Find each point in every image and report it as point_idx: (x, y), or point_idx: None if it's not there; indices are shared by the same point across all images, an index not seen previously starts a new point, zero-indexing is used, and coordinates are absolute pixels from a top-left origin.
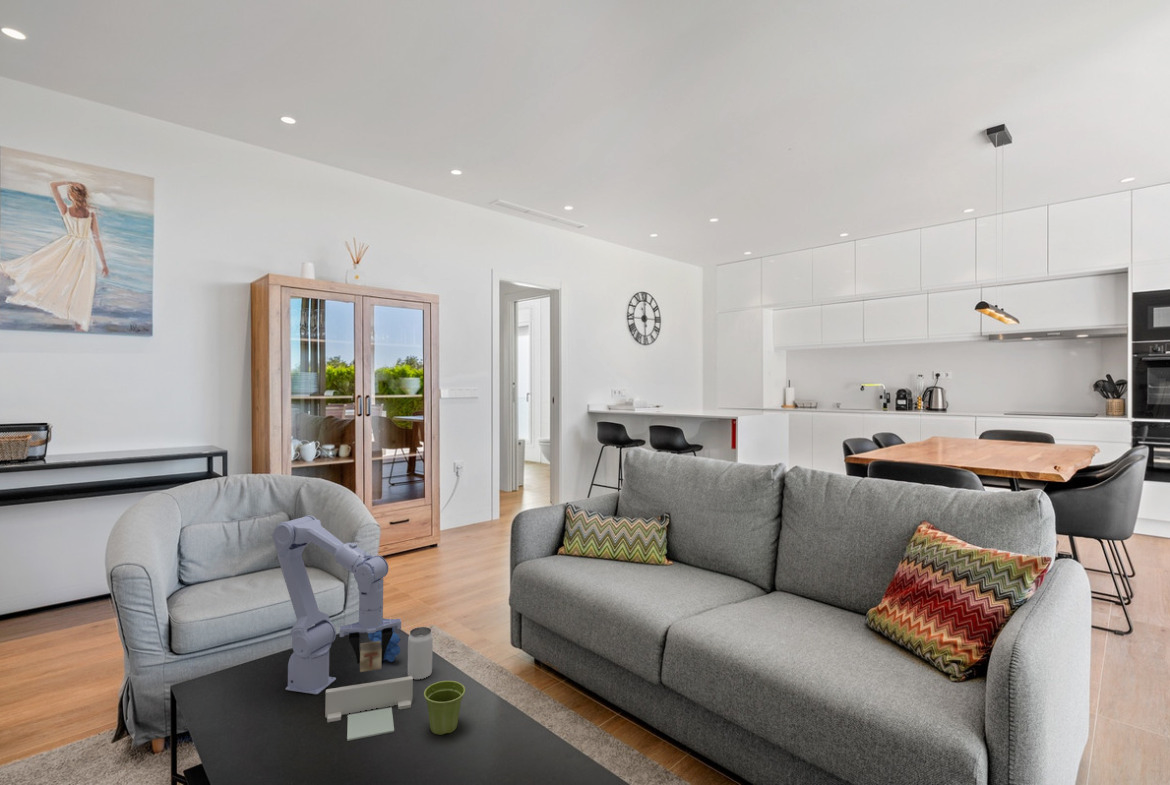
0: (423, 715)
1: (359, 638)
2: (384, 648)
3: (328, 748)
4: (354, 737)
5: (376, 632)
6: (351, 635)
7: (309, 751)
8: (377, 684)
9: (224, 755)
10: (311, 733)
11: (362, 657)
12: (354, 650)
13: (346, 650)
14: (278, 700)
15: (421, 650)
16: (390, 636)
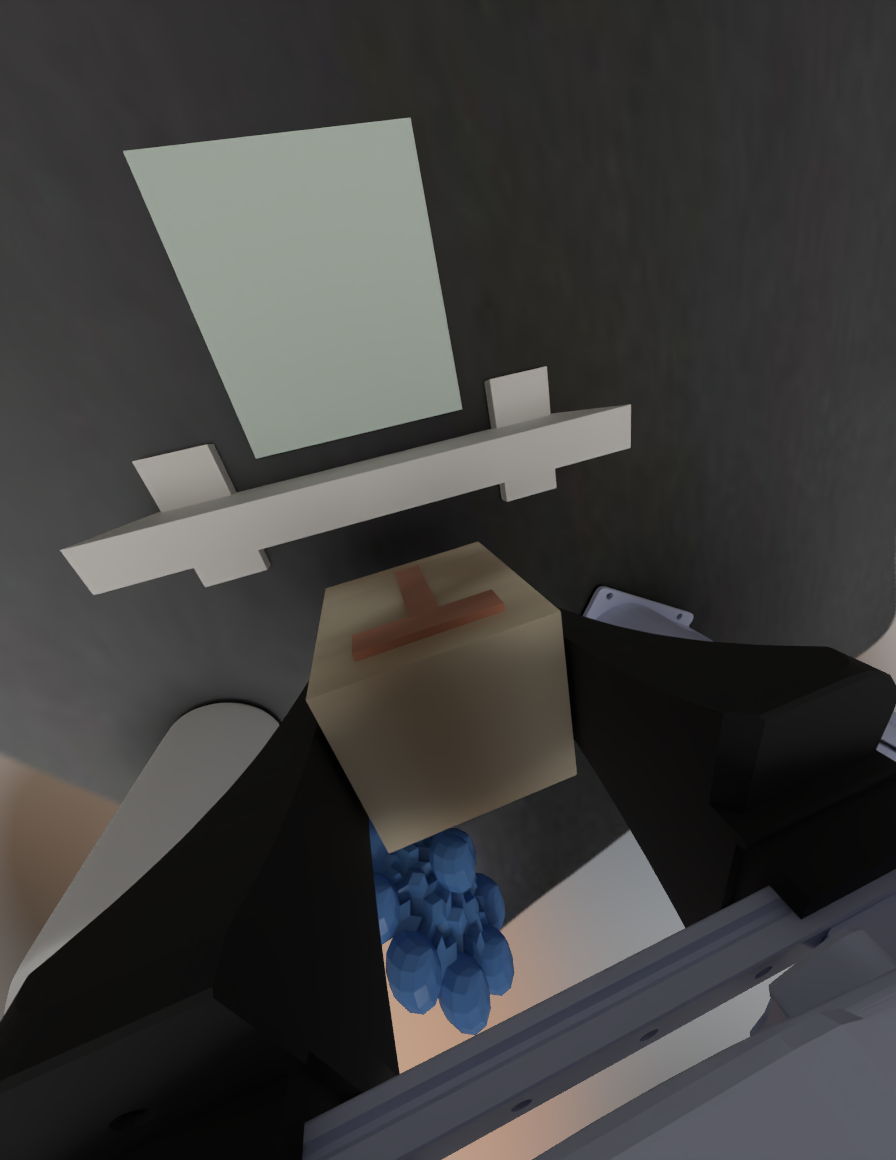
0: (4, 357)
1: (715, 768)
2: (289, 734)
3: (493, 62)
4: (371, 125)
5: (472, 921)
6: (874, 805)
7: (582, 62)
8: (331, 483)
9: (875, 163)
10: (590, 276)
11: (506, 590)
12: (629, 629)
13: (542, 824)
14: (704, 555)
15: (117, 851)
16: (31, 986)
